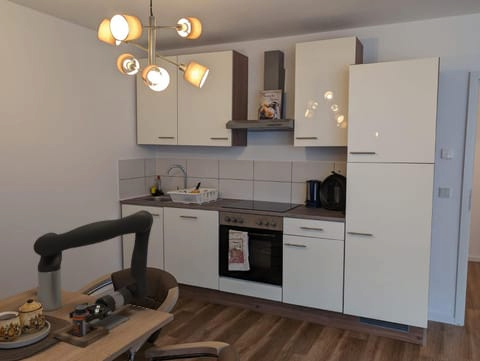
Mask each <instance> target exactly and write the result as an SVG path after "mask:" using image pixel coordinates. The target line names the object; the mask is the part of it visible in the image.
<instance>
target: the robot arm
mask: <svg viewBox="0 0 480 361" xmlns="http://www.w3.org/2000/svg"><path fill="white" fill-rule="evenodd" d="M153 224H154V216H153V215H152V213H151V212H149V211H148V210H144V209H143V210H140V211H139V210H138V211H137V212H134V213H131V214H130V215H126V216H124V217H121V218H117V219H105V220H99V221H94V222H90V223H86V224H84V225H81V226H78V227H76V228H73V229H71V230H68V231H65V232H63V233H55V232H47V233H44V234H43V235H41V236H39V237H38V238H37V239H36V240H35V242H34V244H33V248H32V249H33V251H34V253H35V254H36V255H38V256H40V258H39V262H38V264H37V281H38V282H37V283H38V284H37V286H36V291H37V294H36V295H37V303H38V302H39V303H42V304H43V312H48V311H49V312H51V311H55V310H58V309H60V308H61V307H62V305H63V303H62V302H63V301H62V300H63V299H62V270H61V268H62V266H61V264H62V262H63V252H64V251H67V250H70V249H76V248H81V247H86V246H91V245H96V244H100V243H103V242H107V241H110V240H112V239H115V238H117V237H122V236H124V235H131V234H135V235H134V243H133V249H132V254H131V258H130V270H129V273H130V274H129V275H130V277H131V278H132V279H134V280H135V281H130V282H128V283H126V284H125V285H124V286H123V287H122V288H120V289H118V290H116V291H114V292H113V291H112V292H110V293H108V294H104V295H103V296H101V297H99V298H97V299H96V301H94V303H91V304H89V302H84V303H82V304H79V305H77V306H80V305H85V306H86V307H87V311H88V312H89V316H87V317H86V318H85V322H86V323H89V322H91V321H93V320H98V319H99V320H103V319H105V318H107V317H108V316H110V315H111V313H114V312H116V311H118V310H120V309H121V308H122V307H125V306H126V305H129V304H130V303H131V302H132V299H134V300H138V301H144V300H146V299H147V297H148V295H149V292H150V291H149V290H150V287H149V282H148V276H147V266H148V252H149V250H148V248H149V242H150V235H151V231H152V227H153ZM77 306H74V309H75V308H76V307H77ZM75 312H76V311H75V310H73V311H70V312H69V319H73V314H74V313H75Z"/></svg>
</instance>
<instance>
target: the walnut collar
mask: <svg viewBox="0 0 480 361" xmlns="http://www.w3.org/2000/svg"><path fill="white" fill-rule="evenodd" d="M52 334H53V337H54V336H55V337H58V338H60V340H59V341H63V342H66V343H68V344H72V345H76V346H78V347H81V348H86V347H88V346H89V345H91V344H93V343H95V342H96V341H98V340H101V339H102V338H104V337H106V336H108V335H109V334H110V330H109V329H108V328H104V327H100V326H97V325H93V324H90V333H89V334H87V335H85V336H83V337H81V338H79V337H76V336H73V323H71V324H68V325H67V326H64V327H62V328H59V329H58V330H55V331H54V332H53V333H52Z"/></svg>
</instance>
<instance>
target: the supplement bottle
mask: <svg viewBox="0 0 480 361" xmlns="http://www.w3.org/2000/svg"><path fill="white" fill-rule="evenodd" d="M79 305H80V306H79ZM79 305H77V307H76V306H75V307H76V308H75V307H74V311H76V312H75V313H74V314H73V318H72V324H73V334H72V335H73V336H76V337H79V338H81V337H83V336H85V335H87V334H89V333H91V331H90V322H89V323H86V322H85V318H86V317H87V316H89V312H88V311H87V307H86V306H85V305H81V304H79Z"/></svg>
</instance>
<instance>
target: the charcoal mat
mask: <svg viewBox="0 0 480 361" xmlns="http://www.w3.org/2000/svg"><path fill="white" fill-rule="evenodd" d="M129 320H131V317H127V316H123V315H120V314H116V313H114V312H112V313H111V315H110V316H108V317H107V318H105V319H103V320H99V319H98V320H93V321H91V322H90V324H93V325H97V326H100V327H104V328H108V329H109V331H111V330H113V329H114V328H116V327H118V326H120V325H121V324H124V323H126V322H127V321H129Z"/></svg>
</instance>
